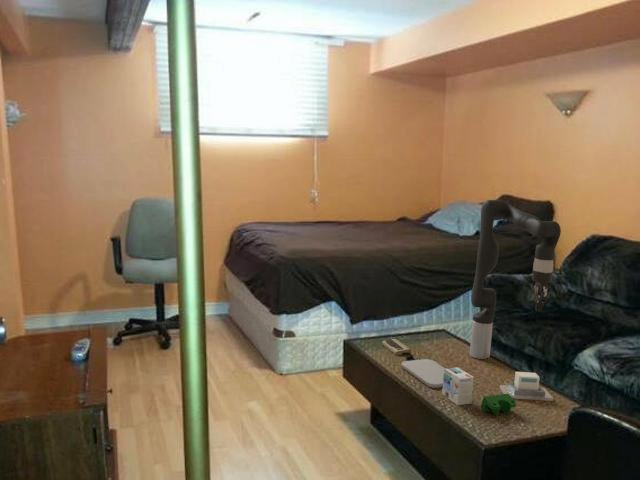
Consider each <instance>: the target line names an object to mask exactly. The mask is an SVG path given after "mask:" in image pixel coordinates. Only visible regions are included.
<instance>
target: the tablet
mask: <svg viewBox="0 0 640 480" xmlns="http://www.w3.org/2000/svg"><path fill="white" fill-rule="evenodd" d="M401 366H402V369H404V370H405V371H406V372H407V373H409V374H410V375H411V376H413V377H415V378H416V379H417V380H419V381H420V382H422V383H423V384H424V385H426V387H429V388H433V389H435V388H443V378H444V369H446V368H445V367H443V366H442V365H441V364H439V363H438V362H436V361H434V360H432V359H429V358H427V359H426V358H423V359H415V360H414V359H413V360H405V361H402V362H401Z"/></svg>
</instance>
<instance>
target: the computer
mask: <svg viewBox="0 0 640 480" xmlns="http://www.w3.org/2000/svg"><path fill="white" fill-rule="evenodd" d="M381 345H382V346H383V347H385V348H386V349H387V350H388V351H390V353H391V354H394V355H395V356H403V355H405V356H407V355H412V354H411V351H412V350H411V349H410V348H409V347H408V346H406V345H405V344H404V343H402V342H400V341H399V340H398V339H396V338H390V339H386V340H382V342H381Z"/></svg>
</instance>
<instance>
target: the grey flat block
mask: <svg viewBox="0 0 640 480" xmlns="http://www.w3.org/2000/svg"><path fill="white" fill-rule="evenodd" d="M499 389H500V391H501V392H502V393H503V394H509V395H510V396H511V397H512V398H513V399H514V400H517V399H518V400H519V399H520V400H534V401H543V402H544V401H545V402H546V401H547V402H553V401H554V397H553V396H552V395H551V393H549V392H548V390H547V389H546V388H545V387H542V386H541V385H540V384H539V389H538V391H537V390H522V389H516V387H515V386H514V381H512V380H511V381H510V380H509V381H508V384H507V385H506V384H505V385H504V384H499Z"/></svg>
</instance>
